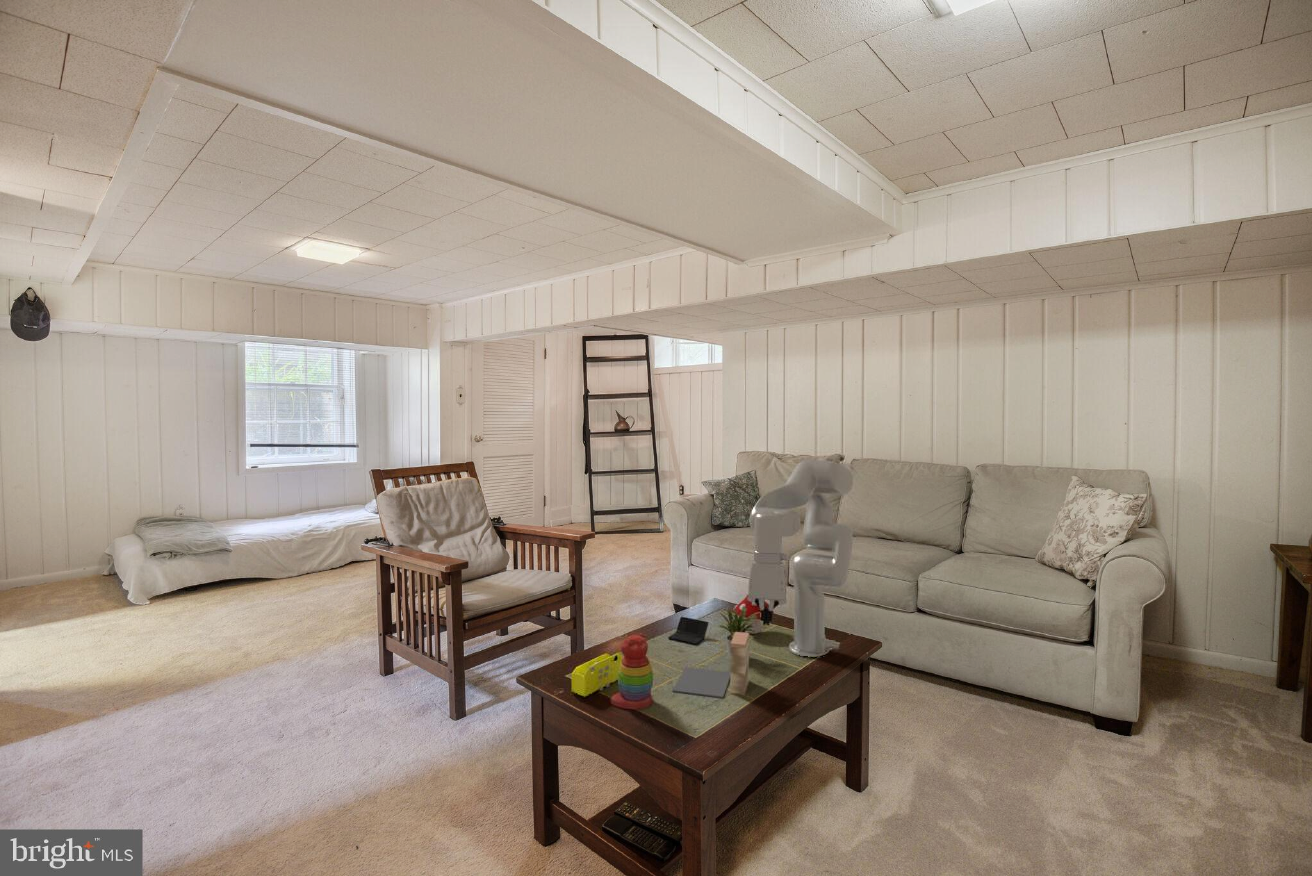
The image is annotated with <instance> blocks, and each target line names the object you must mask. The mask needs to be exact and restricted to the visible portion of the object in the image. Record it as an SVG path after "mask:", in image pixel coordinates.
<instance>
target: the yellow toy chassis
mask: <svg viewBox="0 0 1312 876" xmlns="http://www.w3.org/2000/svg"><path fill="white" fill-rule="evenodd" d="M623 657H624V655H622V653H620V652H617V653H615V654H612V655H610V654H609V653H606V652H605V654H602V655H599V656H597V657H595V658H593V659H591V660H589V661H587V662H583V663H582V664H580V665H578V666H576V667H575V669H573V672H572V673H571V692H572V693H573V692H574V694H576V693H577V694H576V695H579V696H582V697H587V696H590V695H589V694H591V695H592V694H593V693H595V692H596V691H598V690H599V691H601V692H602V691H603V689H604V687H606V688H609V687H610V684H611V683H615V682H616V681H618V673H619V669H620V664H621V661H622V658H623Z"/></svg>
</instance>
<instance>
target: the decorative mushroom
mask: <svg viewBox="0 0 1312 876" xmlns="http://www.w3.org/2000/svg"><path fill="white" fill-rule="evenodd" d="M747 598H748V594H746V596H745V597H743V598H742V600H741V601H740V602H739V603H738V604H736V605H734V607H735V609H736V612H737V615H738V617H739V616H740V613H741V611H742V609H743V607H744V609H745V608H747V609H746V612H745V617H744V619H746V618H748V617H749V616H751V615H752V614H754V613H757V614H755V615H754V617H757V616H758V617H757V618H751V619H750V620H749V621H748V625H746V626H745V627H747V626H749V625H750V624H752V623H755V624H752V626H753V627H752V628H749V629H751V630H754V631H755V633H756V634H755V633H754V632H752V631H748V630H747V631H746V632H747V633H749V634H753V635H754V634H755V635H757V634H759V633H761V632H762V629H763V628H762V623H761V610H760V608H759V607H758V605H757V604H756V603H754V602H751V601H748V600H747ZM765 606H766V608H768V606H769V603H768V602H767V601H765ZM732 610H733V612H734V613H735V611H734V608H733V609H732ZM758 612H760V613H758ZM774 614H775V612H774V609H773V610H772V616H774ZM750 622H751V623H750Z"/></svg>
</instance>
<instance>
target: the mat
mask: <svg viewBox="0 0 1312 876" xmlns="http://www.w3.org/2000/svg"><path fill="white" fill-rule="evenodd" d="M729 682H730V671H725V670H724V671H723V670H715V669H706V668H700V667H699V668H698V667H692V666H691V667H690V666H685V667H684V669H683V670H682V673H681V674H680V676H679V677H678V680H677V682H676V683H675V685H674V687H673V689H672V692H674V693H678V694H680V693H681V694H688V695H696V696H702V697H712V698H719V699H724V696H725V693H726V691H727V688H728V685H729Z"/></svg>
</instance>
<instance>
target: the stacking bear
mask: <svg viewBox="0 0 1312 876" xmlns="http://www.w3.org/2000/svg"><path fill="white" fill-rule="evenodd" d="M648 649H649V646H648V642H647V640H646V639H645V634H644V633H639V635H638V634H634V635H633V634H632V635H630V636H628V637H626V639H625V640H624V642H622V644H621V645H620V650H621V654H623V655H622V656H623V658H622V661H621V664H620V669H619V673H618V679H617V681H618V683H617V684H618V689H619V692H617V693H615V694H613V695H612V696H611V697H610V701H609V702H610V704H611V705H612V706H615V707H617V708H621V709H625V710H626V709H627V710H641V709H644V708H648V707H650V705H652V704H653V695H652V693H651V692H652V690H653V689H652V687H653V682H654V671H653V668H652V663H651V661H650V659H649V657H647V653H648Z"/></svg>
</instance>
